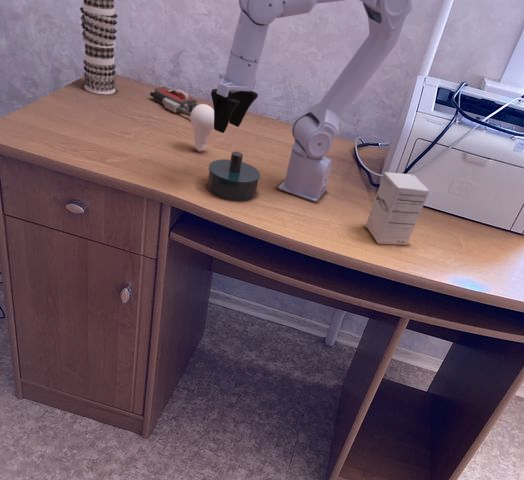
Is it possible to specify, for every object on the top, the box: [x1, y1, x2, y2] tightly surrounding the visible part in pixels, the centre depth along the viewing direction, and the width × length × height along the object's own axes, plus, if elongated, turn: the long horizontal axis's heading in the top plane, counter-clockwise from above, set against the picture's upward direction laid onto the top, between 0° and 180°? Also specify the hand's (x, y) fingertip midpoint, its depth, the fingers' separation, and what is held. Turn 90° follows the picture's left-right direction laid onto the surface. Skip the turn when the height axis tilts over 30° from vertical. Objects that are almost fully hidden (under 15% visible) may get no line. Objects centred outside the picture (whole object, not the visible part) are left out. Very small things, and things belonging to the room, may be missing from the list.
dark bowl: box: [207, 171, 259, 202], centre depth 115 cm, size 11×11×4 cm
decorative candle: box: [79, 0, 118, 95], centre depth 141 cm, size 9×9×25 cm
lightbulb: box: [189, 103, 214, 153], centre depth 125 cm, size 6×6×11 cm
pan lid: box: [208, 151, 261, 184], centre depth 112 cm, size 11×11×5 cm
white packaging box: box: [365, 171, 430, 246], centre depth 109 cm, size 7×7×13 cm
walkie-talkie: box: [149, 86, 198, 117], centre depth 148 cm, size 9×4×20 cm
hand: (226, 127), depth 108 cm, fingers open, 7 cm apart
